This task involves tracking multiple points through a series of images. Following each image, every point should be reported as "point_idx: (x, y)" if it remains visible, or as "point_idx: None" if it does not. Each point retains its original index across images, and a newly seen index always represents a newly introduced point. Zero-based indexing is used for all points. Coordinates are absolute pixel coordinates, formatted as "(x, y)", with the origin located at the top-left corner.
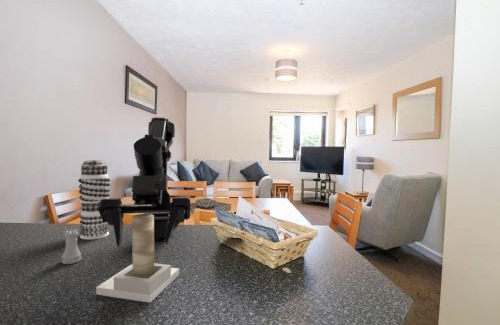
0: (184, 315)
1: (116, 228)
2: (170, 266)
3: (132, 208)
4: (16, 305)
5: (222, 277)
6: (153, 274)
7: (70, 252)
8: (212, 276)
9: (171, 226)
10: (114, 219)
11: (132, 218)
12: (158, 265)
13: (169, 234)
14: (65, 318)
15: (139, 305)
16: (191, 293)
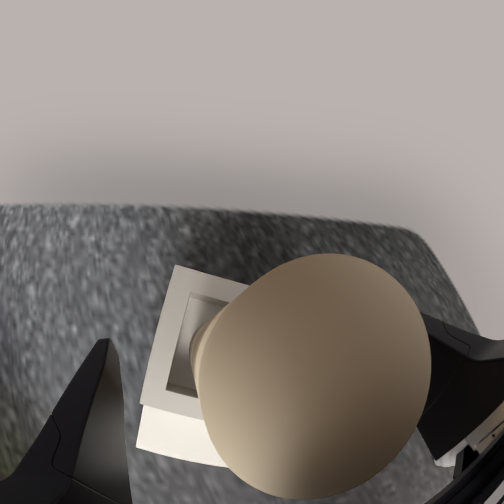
0: (87, 221)
1: (436, 326)
2: (141, 400)
3: (473, 494)
4: (434, 271)
5: (17, 401)
6: (181, 323)
7: (461, 443)
8: (41, 413)
9: (59, 416)
10: (488, 347)
11: (408, 298)
12: (187, 402)
13: (80, 370)
14: (339, 225)
15: (202, 267)
16: (76, 321)
